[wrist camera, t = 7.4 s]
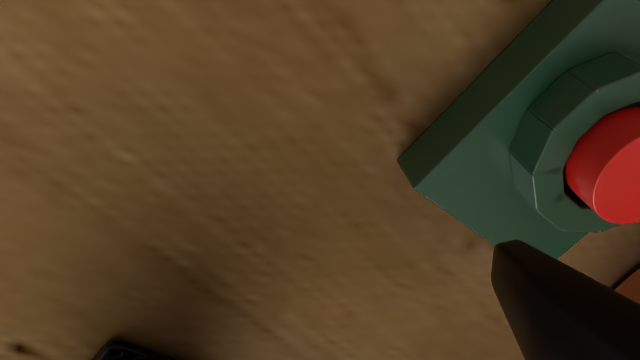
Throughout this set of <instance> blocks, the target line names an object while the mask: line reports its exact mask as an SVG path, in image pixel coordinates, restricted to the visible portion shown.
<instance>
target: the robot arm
mask: <svg viewBox="0 0 640 360" xmlns="http://www.w3.org/2000/svg"><path fill="white" fill-rule="evenodd" d="M491 281H492V286H493V289H494V291H495V294H496V296H497V298H498V300H499V302H500V305H501V307H502V309H503V311H504V314H505V316H506V318H507V320H508V322H509V325H510V327H511V329H512V331H513V334H514V336H515V338H516V340H517V342H518V345H519V347H520V349H521V351H522V353H523V356H524V358H525V360H640V304H638V303H637V302H635V301H633V300H631V299H629V298H627V297H625V296H624V295H622V294H620V293H618V292H616V291H614V290H612V289H611V288H609V287H607V286H605V285H603V284H601V283H599V282H598V281H596V280H594V279H592V278H590V277H588V276H586V275H585V274H583V273H581V272H579V271H577V270H575V269H573V268H572V267H570V266H568V265H566V264H564V263H562V262H560V261H559V260H557V259H555V258H553V257H551V256H549V255H547V254H546V253H544V252H542V251H540V250H538V249H536V248H534V247H533V246H531V245H529V244H527V243H525V242H523V241H521V240H518V239H515V240H510V241H505V242H501V243H498V244H496V245H495V247H494V252H493V262H492V272H491ZM93 360H177V359H174V358H171V357H168V356H166V355H163V354H160V353H157V352H154V351H151V350H149V349H146V348H143V347H140V346H137V345H134V344H132V343H129V342H126V341H123V340H119V339H117V340H111V341H109V342H108V343H107V344H106V345H105V346H104V347H103V348H102V350H101V351H100V352H99V353H98V354H97V355H96V357H95V358H94V359H93Z"/></svg>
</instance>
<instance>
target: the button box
mask: <svg viewBox="0 0 640 360" xmlns="http://www.w3.org/2000/svg"><path fill="white" fill-rule="evenodd" d="M627 107H640V0H552V1H551V2H550V4H549V5H548V6H547V7H546V8H545V9H544V10H543V11H542V12H541V13H540V14H539V15H538V16H537V17H536V18H535V19H534V20H533V21H532V22H531V23H530V24H529V25H528V26H527V27H526V28H525V29H524V30H523V31H522V32H521V33H520V34H519V35H518V36H517V38H516V39H515V40H514V41H513V42H512V43H511V44H510V45H509V46H508V47H507V48H506V49H505V50H504V51H503V52H502V53H501V54H500V55H499V56H498V57H497V58H496V59H495V60H494V61H493V62H492V63H491V64H490V65H489V66H488V67H487V68H486V69H485V70H484V72H483V73H482V74H481V75H480V76H479V77H478V78H477V79H476V80H475V81H474V82H473V83H472V84H471V85H470V86H469V87H468V88H467V89H466V90H465V91H464V92H463V93H462V94H461V95H460V96H459V97H458V98H457V99H456V100H455V101H454V102H453V103H452V104H451V106H450V107H449V108H448V109H447V110H446V111H445V112H444V113H443V114H442V115H441V116H440V117H439V118H438V119H437V120H436V121H435V122H434V123H433V124H432V125H431V126H430V127H429V128H428V129H427V130H426V131H425V132H424V133H423V134H422V135H421V136H420V137H419V139H418V140H417V141H416V142H415V143H414V144H413V145H412V146H411V147H410V148H409V149H408V150H407V151H406V152H405V153H404V154H403V155H402V156H401V157H400V158H399V159H398V160H397V162H398V164H399V165H400V167H401V168H402V170H403V172H404V173H405V175H406V177H407V178H408V180H409V182H410V183H411V185H412V187H413V188H414V189H415V190H416V191H418V192H419V193H421V194H422V195H423V196H425V197H426V198H428V199H429V200H431V201H432V202H433V203H435V204H436V205H438V206H439V207H440V208H442V209H443V210H445V211H446V212H448V213H449V214H450V215H452V216H453V217H455V218H456V219H457V220H459V221H460V222H462V223H463V224H465V225H466V226H467V227H469V228H470V229H472V230H473V231H474V232H476V233H477V234H479V235H480V236H482V237H483V238H484V239H486V240H487V241H489V242H490V243H491V244H493V245H494V246H495V245H496V244H498V243H501V242H505V241H510V240H515V239H518V240H521V241H523V242H525V243H527V244H529V245H531V246H533V247H534V248H536V249H538V250H540V251H542V252H544V253H546V254H547V255H549V256H551V257H553V258H555V259H557V258H559V257H560V256H561V255H562V254H563V253H565V252H566V251H567V250H568V249H569V248H571V247H572V246H573V245H574V244H575V243H577V242H578V241H579V240H580V239H581V238H583V237H584V236H585V235H586V234H587V233H589V232H597V233H598V232H603V231H605V230H608V229H610V228H613V227H615V226H618V225H621V224H615V223H611V222H608V221H605V220H603V219H602V218H601V217H599V216H598V215H597V214H596V213H595V212H594V211H593V210H592V209H591V208H590V207H589V206H588V205H587V204H586V203H585V202H584V201H583V200H582V199H580V198H579V197H578V196H577V195H576V194H575V193H574V192H573V191H572V190H571V189H570V187H569V185H568V183H567V180H566V175H565V168H566V162H567V159H568V157H569V155H570V153H571V151H572V149H573V147H574V145H575V143H576V141H577V140H578V139H579V138H580V137H581V136H582V135H583V134H584V133H585V132H586V131H587V130H588V129H590V128H591V127H592V126H593V125H594V124H595V123H596V122H597V121H598V120H599V119H601V118H602V117H604V116H605V115H607V114H609V113H611V112H614V111H616V110H619V109H622V108H627Z"/></svg>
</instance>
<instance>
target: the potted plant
mask: <svg viewBox="0 0 640 360" xmlns="http://www.w3.org/2000/svg"><path fill="white" fill-rule="evenodd" d="M614 291H616V292H618V293H620V294H622V295H624V296H625V297H627V298H629V299H631V300H633V301H635V302H637V303H638V304H640V268H639V269H638V270H637V271H636V272H634V273H633V274H632V275H630V276H629V277H628V278H627V279H626V280H625V281H624V282H622V283H621V284H620V285H619V286H618V287H617V288H616V289H615V290H614Z"/></svg>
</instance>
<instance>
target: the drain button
mask: <svg viewBox="0 0 640 360" xmlns="http://www.w3.org/2000/svg"><path fill="white" fill-rule="evenodd" d="M565 175H566V180H567V183H568V185H569V187H570V189H571V190H572V191H573V192H574V193H575V194H576V195H577V196H578V197H579V198H580V199H582V200H583V201H584V202H585V203H586V204H587V205H588V206H589V207H590V208H591V209H592V210H593V211H594V212H595V213H596V214H597V215H598V216H599V217H601V218H602V219H603V220H605V221H608V222H611V223H615V224H629V223H634V222H638V221H640V107H627V108H622V109H619V110H616V111H614V112H611V113H609V114H607V115H605V116H604V117H602V118H601V119H599V120H598V121H597V122H596V123H595V124H594V125H593V126H592V127H591V128H590V129H588V130H587V131H586V132H585V133H584V134H583V135H582V136H581V137H580V138H579V139H578V140H577V141H576V143H575V145H574V147H573V149H572V151H571V153H570V155H569V157H568V159H567V162H566V168H565Z"/></svg>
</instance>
